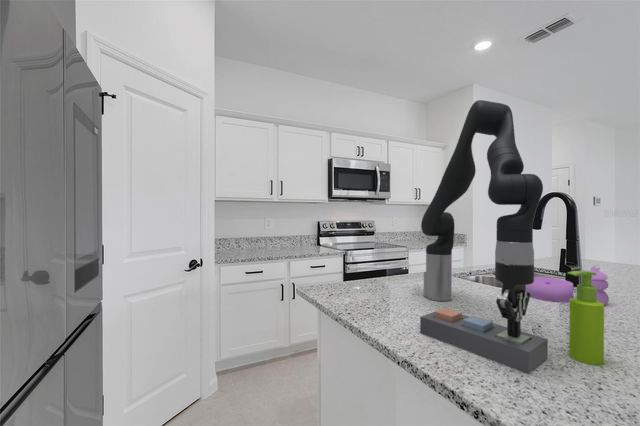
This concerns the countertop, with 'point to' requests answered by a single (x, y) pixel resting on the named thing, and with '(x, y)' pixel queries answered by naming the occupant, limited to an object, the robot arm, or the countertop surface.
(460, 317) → the terracotta button
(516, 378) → the countertop surface
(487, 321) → the slate blue button
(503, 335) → the sage green button
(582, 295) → the soap dispenser
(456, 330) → the button panel
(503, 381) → the countertop surface
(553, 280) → the container set
